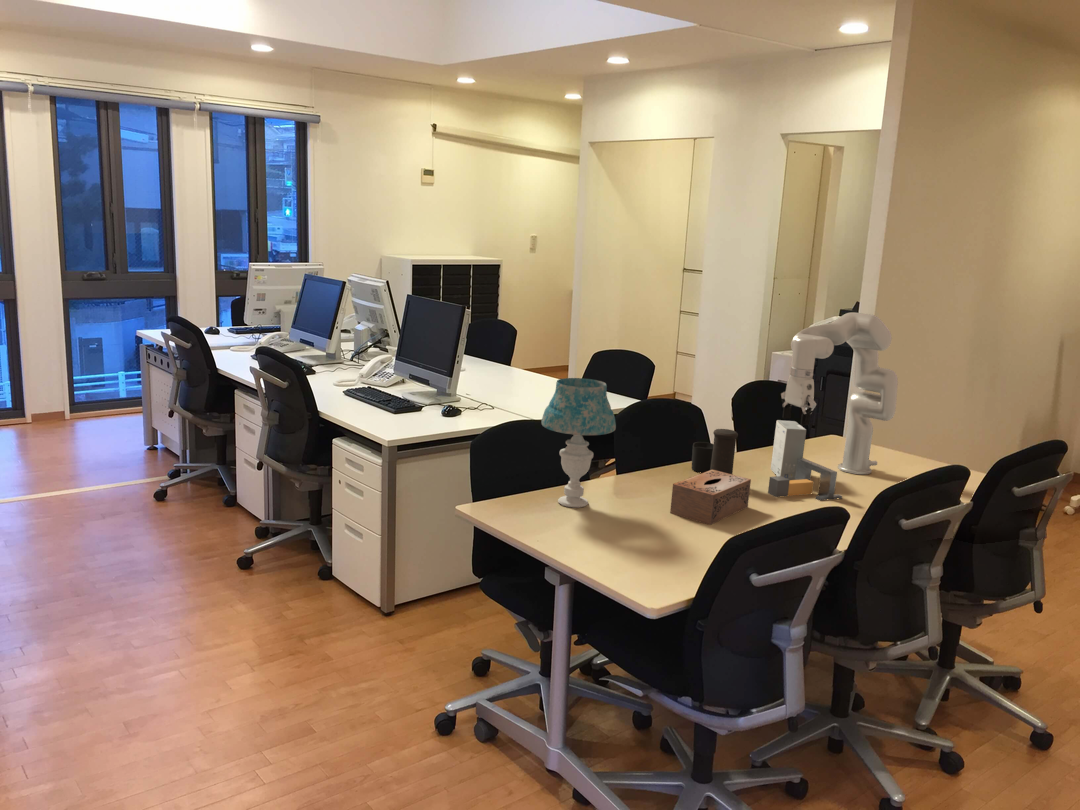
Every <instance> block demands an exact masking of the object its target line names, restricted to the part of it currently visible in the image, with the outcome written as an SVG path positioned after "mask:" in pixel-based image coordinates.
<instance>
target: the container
mask: <svg viewBox="0 0 1080 810" xmlns="http://www.w3.org/2000/svg"><path fill="white" fill-rule="evenodd" d="M713 435H714V437H713V443H712V444H713V452H712V460H711V468H710V470H716V471H720V472H724V473H728V474H732V475H733V471H734V461H735V452H736V444H737V438H738V436H739V434H738V432H737V431H735V430H733V429H728V428H716V429H714V431H713Z"/></svg>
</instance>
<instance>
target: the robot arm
mask: <svg viewBox="0 0 1080 810" xmlns="http://www.w3.org/2000/svg"><path fill="white" fill-rule="evenodd" d="M892 339H893V338H892V334H891V331H890V329H889V328H888V326H887V325H886V324H885V323H884V322H883V320H881V318H880V317H878V316H876V315H875V314H871V313H869V314H868V313H862V312H861V313H860V312H846V313H845V314H842V315H841V316H840V317H838V318H836V319H835V320H833V321H831V322H829V323H822V324H817V325H813V326H809V327H806V328H803V329H802V330H800V331H798V332H797V333H796V334H795V335H794V336H793V338H792V340H791V341H790V348H791V351H792V354H791V363H790V371H789V372H790V373H789V376H788V380H787V382H786V387H785V391H783V392H781V393H780V396H781V402H782V408H783V410H782V416H781V417H782V419H784V420H786V419H788V420H789V419H791V417H792V410H793V407H792V406H794V407H798V408H801V410H802V413H801V415H800V416H801V417H800V418H801V419H800V425H801V426H810V421H811V420H810V418H811V415H812V413H813V412H814V410H815V409H816V406H817V403H816V401H815V400H814V397H815V382H814V381H815V380H814V379H813V376H814V369H815V363H816V359H826V358H829V357H830V356H831V355H832V354H833V352H834V348H835V346H839V345H842V344H844V343H845V342H846V343H847V344H848V346H850V347H851V349H852V350H853V353H854V367H853V369H854V370H853V384H854V386H855V387H856V388H857V389H860V390H864V391H855V392H853V393H851V395H850V396H849V398H848V402H847V404H848V405H847V409H848V410H847V411H848V419H847V429H846V435H845V443H844V444H845V445H844V450H843V457H842V458H843V459H842V462H841V463H839V464H837V469H839V470H840V471H842V472H846V473H848V474H854V475H869V474H871V473H872V470H873V469H872V468H871V466H873V467H874V466H877V465H878V461H877V460H870V453H871V447H872V440H873V433H874V425H873V423H872V421H871V419H874V420H878V421H882V422H883V421H884V422H885V421H891V420H892V419H893V418H894V416H895V414H896V409H897V397H898V383H899V382H898V378H899V377H898V375H897V373H896V371H894V370H893V369H890V368H886V367H885V368H884V367H880V365H879V352H882V351H883V352H884V351H886V350H887V349H889V348H890V346H891V344H892ZM872 392H873V393H872ZM878 393H879V394H878Z"/></svg>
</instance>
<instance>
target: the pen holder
mask: <svg viewBox="0 0 1080 810" xmlns="http://www.w3.org/2000/svg"><path fill="white" fill-rule="evenodd" d="M713 444H714V443H711V442H706V441H697V442H693V444H692V452H691V453H692V455H691V470H692V471H693V470H694V471H693V472H695V471H697V472H696V473H698V472H701V473H704V472H707V471H709V470H710V468H711V460H712V452H713ZM701 473H700V474H701Z"/></svg>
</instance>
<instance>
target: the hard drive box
mask: <svg viewBox="0 0 1080 810" xmlns="http://www.w3.org/2000/svg"><path fill="white" fill-rule="evenodd" d="M806 435H807V429H806V428H805V427H803V425H801V424H799V423H798V422H797V421H795V420H781V419H777V420H776V423H775V430H774V437H773V439H774V440H773V446H772V448H773V449H772V455H771V456H772V457H771V463H770V470H771V471H772V472H773V473H774V475H775V474H776V475H775V476H782V477H785V478H787V479H789V480H795V476H796V468H797V460H798V458H804V451H805V445H806Z"/></svg>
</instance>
